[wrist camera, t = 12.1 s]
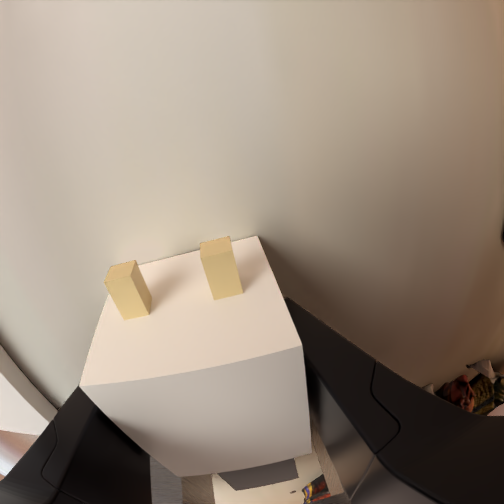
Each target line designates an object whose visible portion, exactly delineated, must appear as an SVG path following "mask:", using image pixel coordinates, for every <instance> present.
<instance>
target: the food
mask: <svg viewBox="0 0 504 504" xmlns="http://www.w3.org/2000/svg"><path fill="white" fill-rule="evenodd" d="M466 367H467V368H473V369H475V370H477V371H478V372H480V374H478V375H477V376H476V377H475V378H474V379H472V380H471V381H470V382H469V383H468V378H467V376H466V375H462V376H460V377H458V378H457V379H455V380H454V381H452V382H450V383H445V384H444V385H443V386H442V387H441V388H440V389H439V390H438V391H437V392H435V393H434V392H433V387H434V386H433V384H429V385H427V386H425V387H423V388H422V389H424V390H426V391H428V392H430V393H432V394H434V395H436V396H438V397H440V398H442V399H444V400H446V401H448V402H450V403H452V404H454V405H456V406H458V407H460V408H462V409H464V410H466V411H469V412H472V413H475V414H479V415H485V416H487V415H488V414H489V413H490V412H491V411H493V410H494V409H495V408H497V407H498V406H499V405H501V404H503V403H504V375H503V374H501V373H499V372H493V369H492V367H491V363H490V360H481V361H479V362H477V363H475V364H473V365H470V366H468V365H466ZM294 492H296V491H292V493H294ZM302 492H303V493H304V495H305V498H304V503H303V504H306V503H310V502H313V501H317V500H320V499H324V498H327V497H330V496H331V495H330V492H329V489H328V486H327V483H326V480H325V477H324V474H322V475H321V476H320V477H318V478H317V479H315V480H314V481H312V482H311V483H309V484H308V485H307V486H306V487H305V488H303V489H302ZM290 493H291V492H290Z"/></svg>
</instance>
